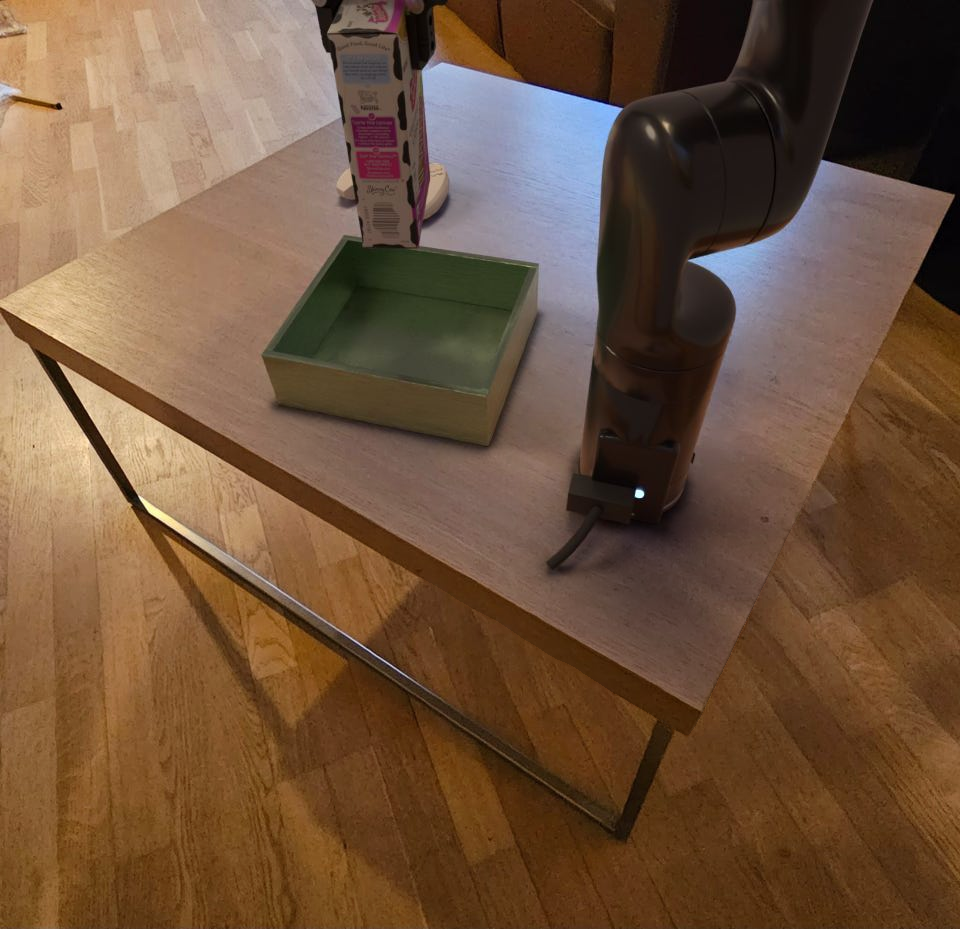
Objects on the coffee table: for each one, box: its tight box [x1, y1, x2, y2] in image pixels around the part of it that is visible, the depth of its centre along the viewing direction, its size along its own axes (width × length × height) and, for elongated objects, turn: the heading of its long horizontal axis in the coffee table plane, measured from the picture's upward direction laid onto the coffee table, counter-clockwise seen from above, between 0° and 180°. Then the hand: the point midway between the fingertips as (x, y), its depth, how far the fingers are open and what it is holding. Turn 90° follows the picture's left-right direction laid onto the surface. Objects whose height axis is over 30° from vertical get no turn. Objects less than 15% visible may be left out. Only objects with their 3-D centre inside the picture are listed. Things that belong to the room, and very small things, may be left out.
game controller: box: [335, 162, 450, 221], centre depth 92 cm, size 14×4×10 cm
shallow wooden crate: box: [260, 234, 540, 447], centre depth 72 cm, size 20×22×7 cm
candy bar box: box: [327, 0, 430, 249], centre depth 56 cm, size 11×5×16 cm, turn 177°
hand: (381, 61), depth 53 cm, fingers closed on candy bar box, 5 cm apart
